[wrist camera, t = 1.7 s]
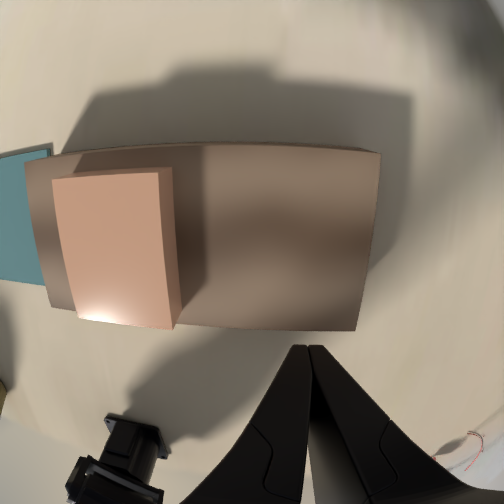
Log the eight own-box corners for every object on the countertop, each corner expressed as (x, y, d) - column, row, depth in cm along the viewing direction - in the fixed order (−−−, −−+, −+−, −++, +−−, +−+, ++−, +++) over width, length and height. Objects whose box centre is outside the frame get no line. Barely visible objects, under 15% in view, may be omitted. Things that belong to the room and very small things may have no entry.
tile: (182, 310, 18) (172, 330, 16) (93, 300, 18) (78, 317, 16) (172, 166, 15) (158, 172, 13) (72, 172, 15) (51, 179, 13)
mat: (70, 286, 23) (67, 288, 22) (-23, 273, 23) (-26, 274, 23) (49, 148, 19) (46, 149, 18) (-43, 169, 19) (-46, 170, 19)
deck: (343, 297, 21) (355, 331, 18) (78, 281, 22) (51, 307, 19) (360, 148, 17) (381, 153, 14) (60, 153, 19) (24, 162, 15)
